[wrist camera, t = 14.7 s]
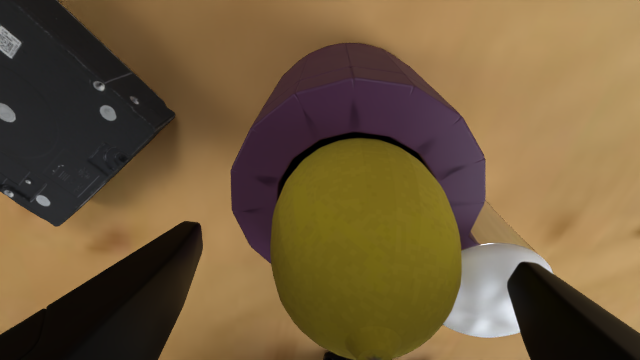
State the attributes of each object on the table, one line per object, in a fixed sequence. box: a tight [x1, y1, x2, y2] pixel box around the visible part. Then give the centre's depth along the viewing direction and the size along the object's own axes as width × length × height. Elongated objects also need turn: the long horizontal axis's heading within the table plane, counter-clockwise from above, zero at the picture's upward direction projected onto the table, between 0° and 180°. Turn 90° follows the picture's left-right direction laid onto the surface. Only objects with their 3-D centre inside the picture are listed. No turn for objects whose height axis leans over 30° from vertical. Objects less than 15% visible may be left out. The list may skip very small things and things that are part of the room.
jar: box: [231, 43, 485, 263], centre depth 14 cm, size 9×9×8 cm
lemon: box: [270, 137, 462, 360], centre depth 10 cm, size 6×6×8 cm
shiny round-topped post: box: [442, 200, 553, 338], centre depth 14 cm, size 4×5×10 cm
